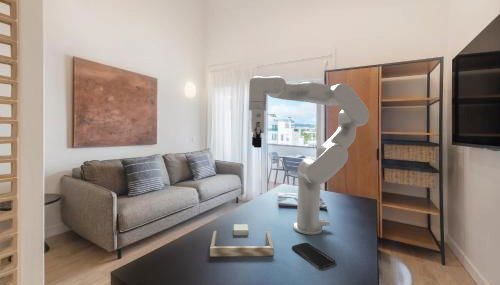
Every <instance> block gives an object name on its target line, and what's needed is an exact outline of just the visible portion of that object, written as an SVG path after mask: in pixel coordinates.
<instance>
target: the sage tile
mask: <svg viewBox="0 0 500 285" xmlns="http://www.w3.org/2000/svg"><path fill="white" fill-rule="evenodd" d="M233 236H249V224H247V223H243V224H242V223H235V224H233Z"/></svg>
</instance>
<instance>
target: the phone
mask: <svg viewBox="0 0 500 285" xmlns="http://www.w3.org/2000/svg"><path fill="white" fill-rule="evenodd" d="M291 250H292V251H294V252H295V253H296V254H298V255H299V256H300V257H301V258H302V259H305V261H307V262H308V263H309V264H311V265H312V266H313V267H315V268H316V269H318V270H324V269H328V268H330V267H333V266H335V265H337V264H336V260H335V259H333V258H332V257H331V256H329V255H327V254H326V253H324V252H322V251H321V250H319V249H318V248H316V247H315V246H313V245H312V244H310V243H309V242H302V243H299V244H294V245H292V246H291Z"/></svg>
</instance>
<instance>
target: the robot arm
mask: <svg viewBox="0 0 500 285" xmlns="http://www.w3.org/2000/svg"><path fill="white" fill-rule="evenodd" d="M248 86H249V88H248V89H249V90H248V91H249V92H248V93H249V94H248V95H249V96H248V111H251V116H250V121H251V122H250V123H251V133H252V137H251V146H253V148H260V149H261V148H262V141H263V140H262V139H263V138H262V134H264V133H265V112H266V111H267V101H268V100H267V96H269V97H271V98H272V99H278V100H287V101H294V102H301V103H302V102H305V103H311V104H318V105H324V106H328V107H330V106H331V107H337V106H339V107H340V109H341V110H340V111H339V112H338V115H337V125H338V126H337V128H336V131H335V132H333V134H332V135H331V136H330V137H329V138H328V139H327V140H326V141H325V142H324V143H322V144H321V145H320V146H319V147H318V149H317V150H316V157H317V158H316V159H313V158H311V157H310V158H304V159H303V160H301V161H300V162H299V164H298V165H297V182H298V184H297V188H298V189H297V209H296V210H297V215H296V216H297V217H296V221H295V222H293V225H292V226H293V229H294V231H295V232H298V233H301V234H304V235H309V236H313V235H314V236H315V235H319V234H321V233H322V232H323V227H324V226H325V227H330V225H331V224H330V221H326V220H325V219H320V208H321V207H320V205H321V204H320V202H321V185H323V184H325V183H326V182H328V181H329V180H330V179H331V178H332V177H333V176H335V174H336V173H337V172H339V171H340V170H341V169H342V168H343V167H344V166H345V165H346V163H347V161H348V159H349V152H348V148H349V147H350V146H351V145H352V144H354V142H355V139H356V136H357V127H362V126H365V125H366V124H367V123H368V121H369V120H370V116H371V115H370V111H369V108H368V107H367V106H366V104H365V102H364V101H362V99H361V98H360V96H359V95H358V93H356V91H355V90H354V89H353V88H352V86H350V85H349V84H347V83H344V82H342V83H338V84H335V85H330V84H324V83H318V82H311V81H304V82H301V83H287V82H286V80H285V78H284V77H281V76H268V77H263V76H253V77H251V78H250V79H249V85H248Z"/></svg>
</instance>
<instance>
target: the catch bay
mask: <svg viewBox="0 0 500 285" xmlns="http://www.w3.org/2000/svg"><path fill="white" fill-rule="evenodd" d="M212 233H213V234H212V237H211V238H212V239H211V243H210V248H209V257H273V256H274V244H273V242H272V239H271V235H270V231H269V230H265V241H266V244H267V245H266V246H265V245H262V246H261V245H259V246H258V245H257V246H254V245H252V246H251V245H250V246H249V245H246V246H241V245H238V246H236V245H235V246H228V245H227V246H225V245H224V246H221V245H220V246H216V241H217V230H213V232H212Z"/></svg>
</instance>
